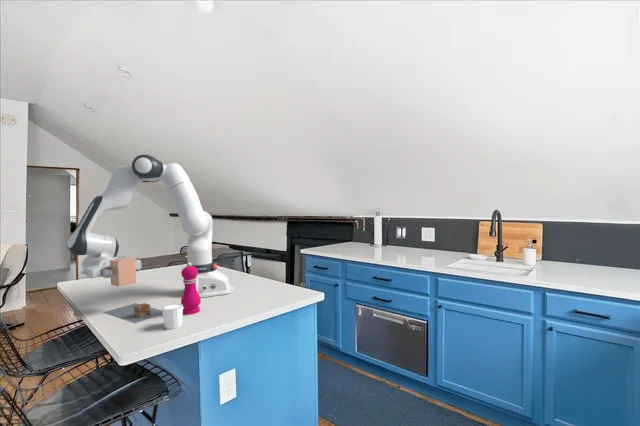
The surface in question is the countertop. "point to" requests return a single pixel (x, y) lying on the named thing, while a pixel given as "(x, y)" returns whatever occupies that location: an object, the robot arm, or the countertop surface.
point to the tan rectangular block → (123, 271)
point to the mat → (132, 313)
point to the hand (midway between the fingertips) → (124, 270)
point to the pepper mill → (190, 290)
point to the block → (142, 310)
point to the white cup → (172, 315)
